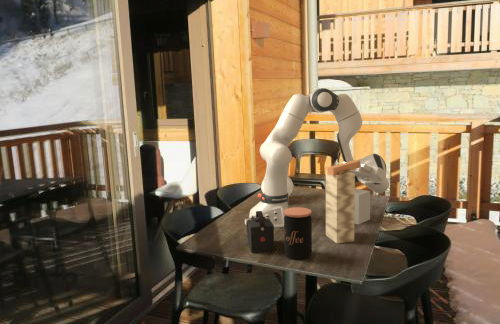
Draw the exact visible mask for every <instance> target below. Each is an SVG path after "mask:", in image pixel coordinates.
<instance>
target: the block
mask: <svg viewBox="0 0 500 324" xmlns="http://www.w3.org/2000/svg"><path fill="white" fill-rule="evenodd" d="M357 160H358V159H356V160H355V159H353V161H349V162H346V163H343V162H341V163H342V164H341V163H339V164H334V165H331V166H327V167H326V170H327V175H337V174H338V172H340V171H344V170H347V169H351V170H354V169H357V168H360V161H357Z"/></svg>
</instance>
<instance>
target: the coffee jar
mask: <svg viewBox="0 0 500 324" xmlns="http://www.w3.org/2000/svg"><path fill="white" fill-rule="evenodd" d="M284 214H285V216H284V227H283V239H284V240H283V241H284V247H283V249H284V255H285V256H286V257H287V258H288V259H290V260H296V261H297V260H299V261H301V260H306V259H308V258H310V257H311V255H312V254H313V246H312V245H313V240H312V239H313V231H312V230H313V227H312V226H313V225H312V221H313V220H312V219H313V218H312V216H311V215H312V210H311V209H309V208H307V207H300V206H299V207H298V206H296V207H295V206H294V207H288V209H285V210H284Z"/></svg>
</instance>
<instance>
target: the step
mask: <svg viewBox="0 0 500 324" xmlns="http://www.w3.org/2000/svg"><path fill="white" fill-rule="evenodd" d="M370 219H371V191H370V190H365V189H359V188H355V207H354V225H360V224H363V223H365V222H367V221H370Z"/></svg>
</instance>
